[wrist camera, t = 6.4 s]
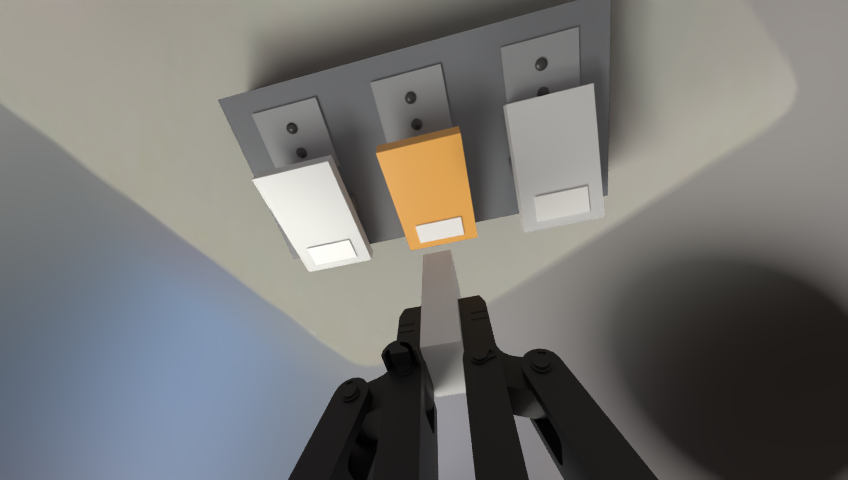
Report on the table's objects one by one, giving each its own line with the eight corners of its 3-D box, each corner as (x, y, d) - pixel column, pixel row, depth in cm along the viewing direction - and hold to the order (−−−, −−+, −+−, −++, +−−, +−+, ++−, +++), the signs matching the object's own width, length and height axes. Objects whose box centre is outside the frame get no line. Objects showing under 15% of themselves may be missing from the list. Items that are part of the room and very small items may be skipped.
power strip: (246, 97, 24) (211, 100, 20) (583, 3, 21) (617, -13, 17) (308, 239, 29) (290, 263, 25) (586, 181, 26) (612, 198, 22)
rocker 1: (258, 172, 21) (251, 180, 20) (331, 154, 20) (327, 162, 19) (312, 263, 25) (308, 272, 25) (372, 251, 25) (371, 260, 24)
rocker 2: (376, 145, 20) (375, 154, 19) (458, 126, 19) (460, 133, 18) (410, 241, 25) (410, 251, 24) (475, 228, 24) (477, 238, 23)
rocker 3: (503, 106, 20) (506, 104, 19) (586, 86, 19) (594, 82, 18) (521, 229, 22) (525, 233, 21) (597, 214, 21) (605, 217, 20)
